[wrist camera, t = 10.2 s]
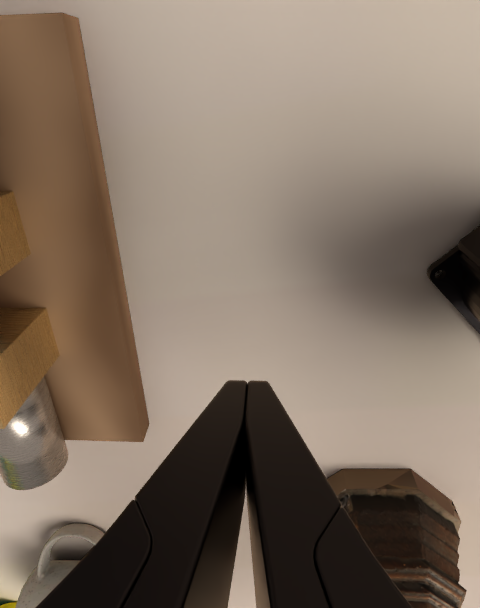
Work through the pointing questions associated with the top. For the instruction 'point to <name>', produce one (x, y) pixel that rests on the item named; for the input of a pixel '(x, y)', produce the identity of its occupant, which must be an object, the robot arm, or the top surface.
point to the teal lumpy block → (9, 605)
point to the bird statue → (406, 531)
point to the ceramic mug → (54, 565)
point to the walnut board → (67, 228)
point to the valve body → (25, 375)
